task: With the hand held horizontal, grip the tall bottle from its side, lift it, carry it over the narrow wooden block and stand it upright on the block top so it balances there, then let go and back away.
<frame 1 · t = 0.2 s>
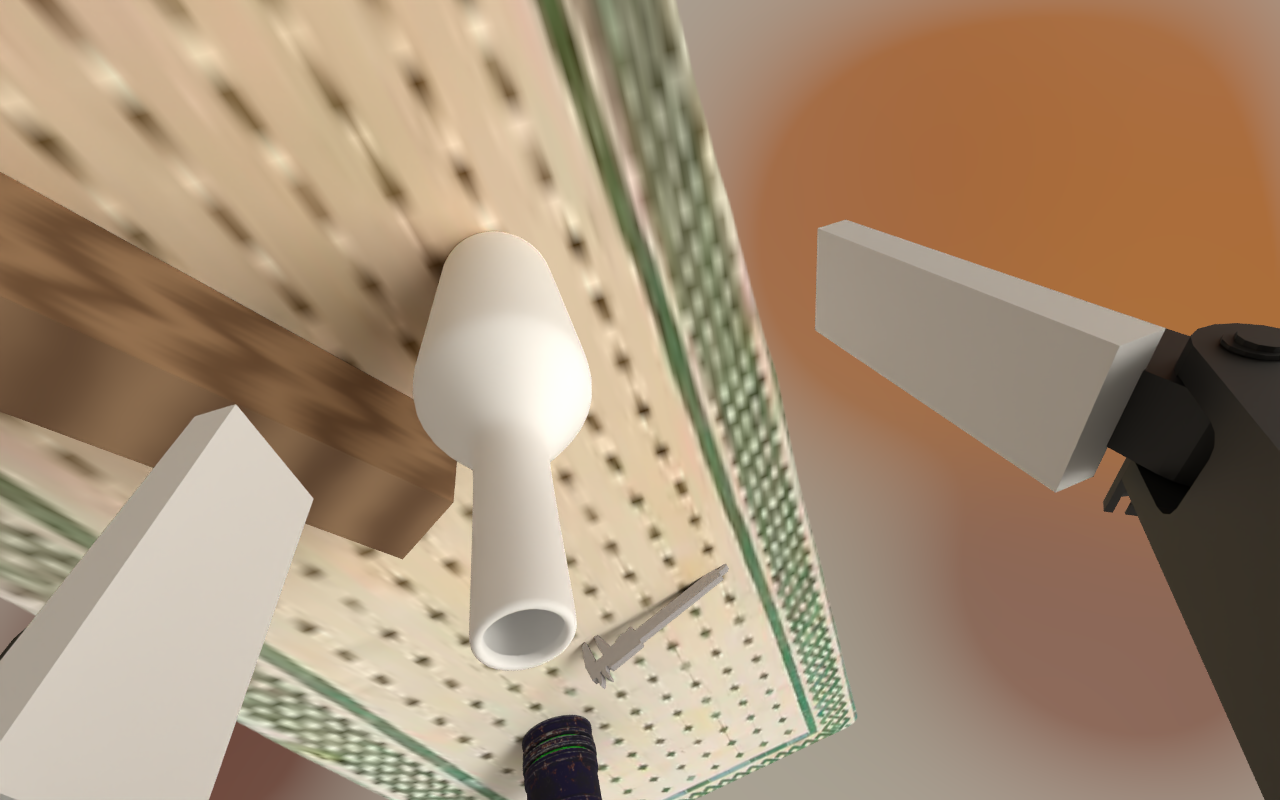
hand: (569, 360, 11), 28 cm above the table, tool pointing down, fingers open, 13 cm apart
wooden block: (248, 352, 35), on the table
bottle: (498, 284, 37), on the table
caliper: (653, 602, 61), on the table
storage jar: (557, 734, 69), on the table
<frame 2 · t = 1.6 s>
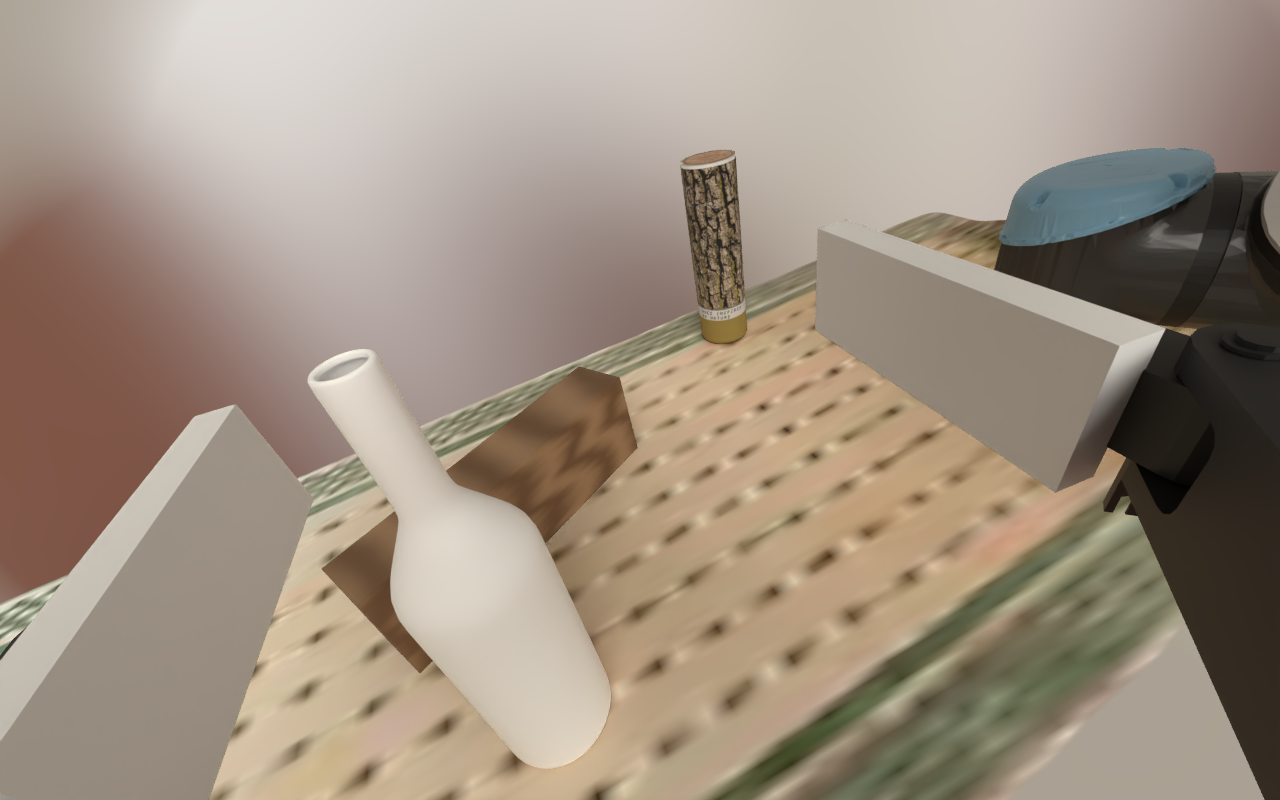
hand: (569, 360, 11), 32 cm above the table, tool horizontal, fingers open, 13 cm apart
wooden block: (528, 528, 51), on the table
bottle: (559, 706, 36), on the table
paper tube: (724, 335, 75), on the table
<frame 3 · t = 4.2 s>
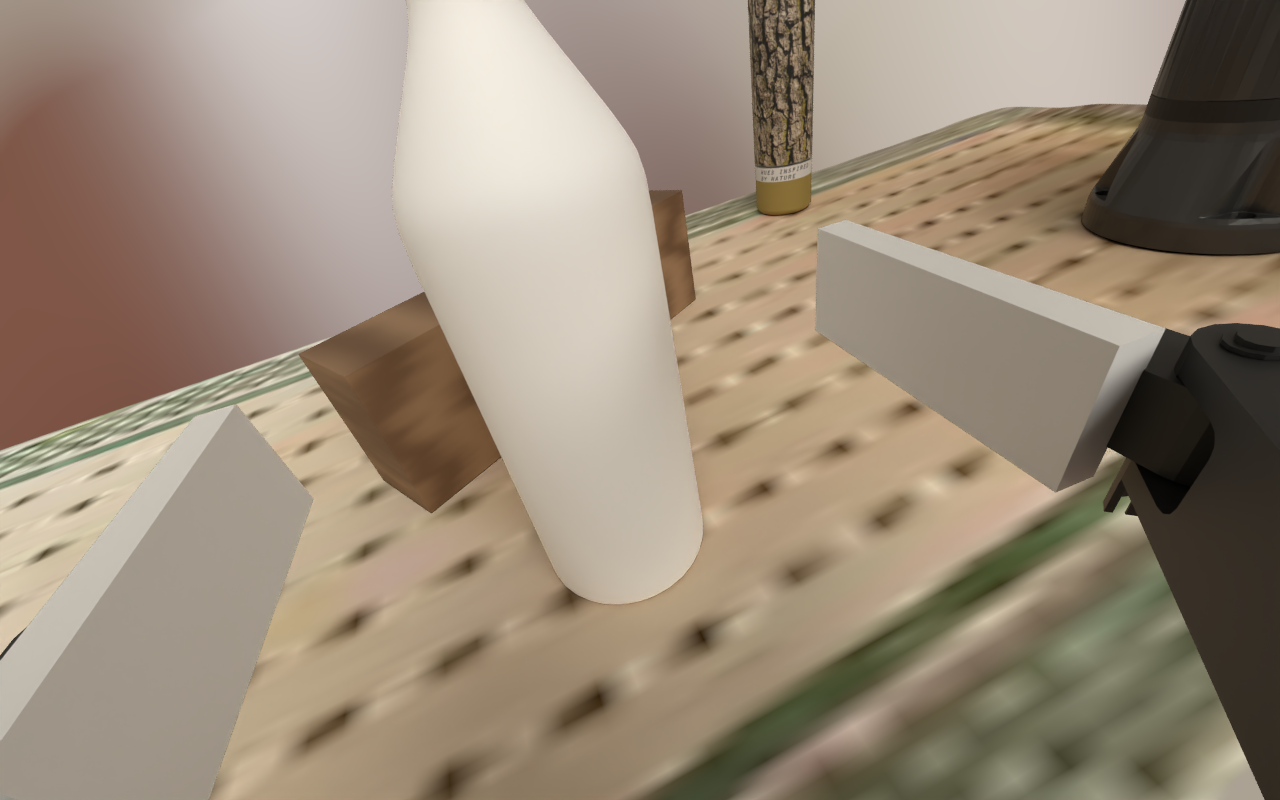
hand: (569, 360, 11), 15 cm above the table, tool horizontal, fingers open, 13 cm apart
wooden block: (566, 374, 40), on the table
bottle: (627, 538, 26), on the table
paper tube: (783, 209, 65), on the table
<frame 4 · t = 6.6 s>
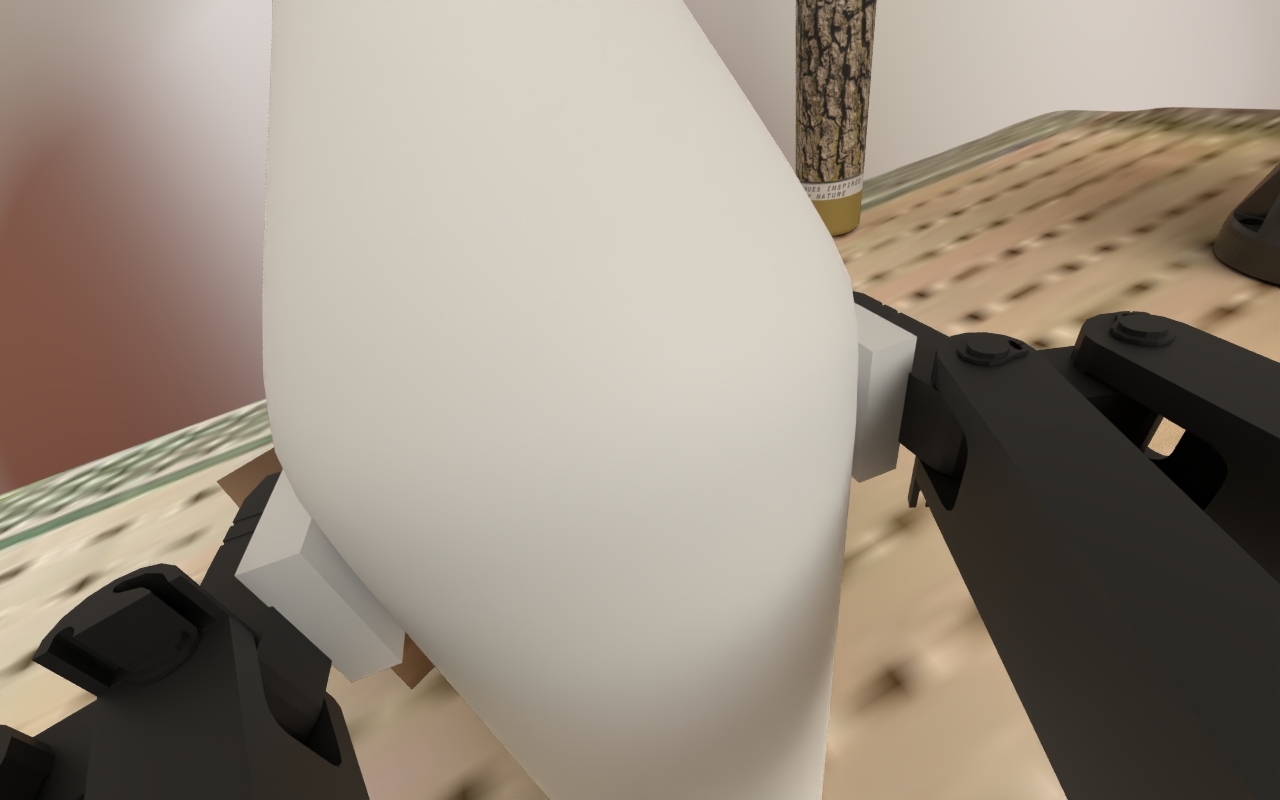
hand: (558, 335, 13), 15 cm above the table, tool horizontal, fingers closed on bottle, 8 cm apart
wooden block: (588, 454, 32), on the table
bottle: (699, 764, 17), on the table, touching gripper
paper tube: (826, 230, 56), on the table
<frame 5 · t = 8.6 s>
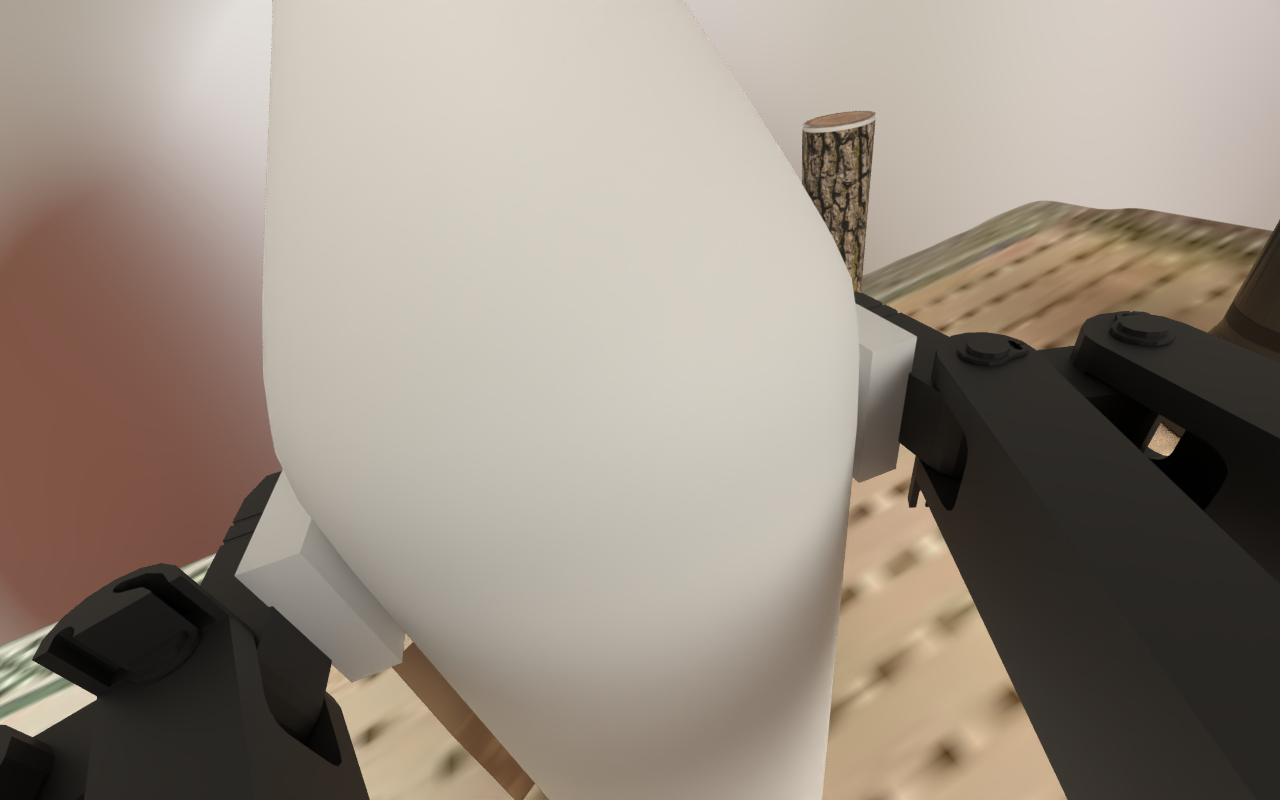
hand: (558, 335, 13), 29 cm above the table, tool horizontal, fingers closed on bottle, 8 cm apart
wooden block: (634, 584, 39), on the table
bottle: (700, 765, 17), point 14 cm above the table, touching gripper
paper tube: (828, 337, 64), on the table
when the fingers open (26 cm above the table, at t = 10.9 s): bottle drops 1 cm, resting on wooden block.
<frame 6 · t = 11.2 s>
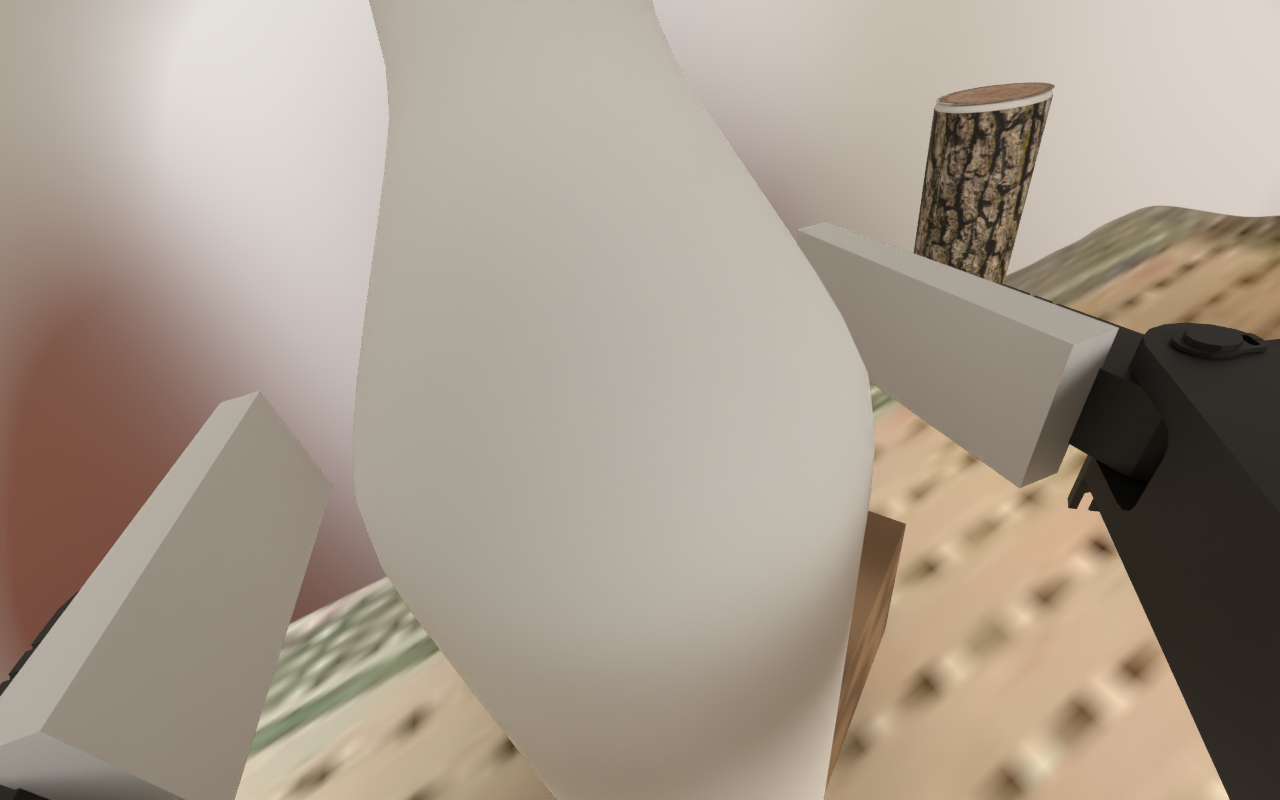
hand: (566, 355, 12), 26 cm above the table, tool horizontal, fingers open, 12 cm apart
bottle: (703, 779, 18), point 10 cm above the table, touching wooden block
paper tube: (933, 389, 48), on the table
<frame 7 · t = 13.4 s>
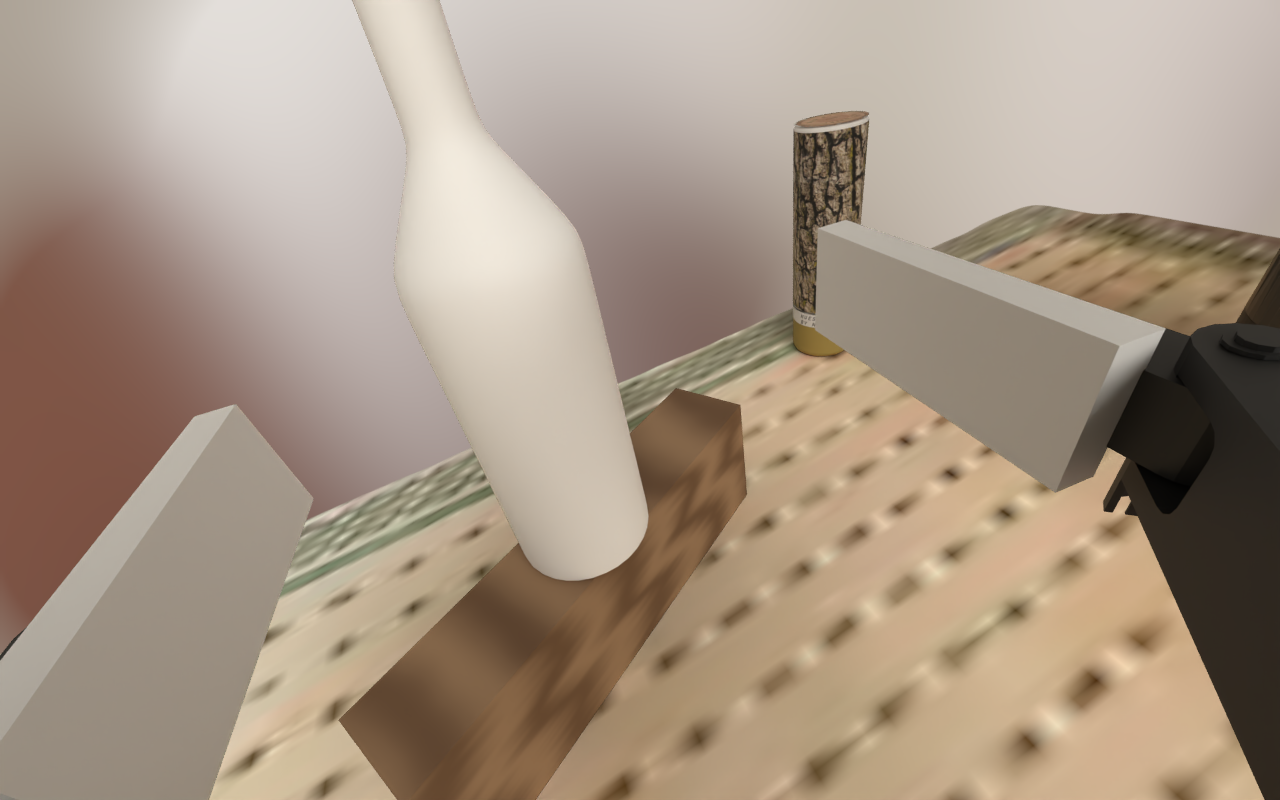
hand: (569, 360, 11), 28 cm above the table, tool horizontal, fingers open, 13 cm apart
wooden block: (617, 614, 37), on the table
bottle: (587, 528, 31), point 10 cm above the table, touching wooden block
paper tube: (821, 345, 62), on the table
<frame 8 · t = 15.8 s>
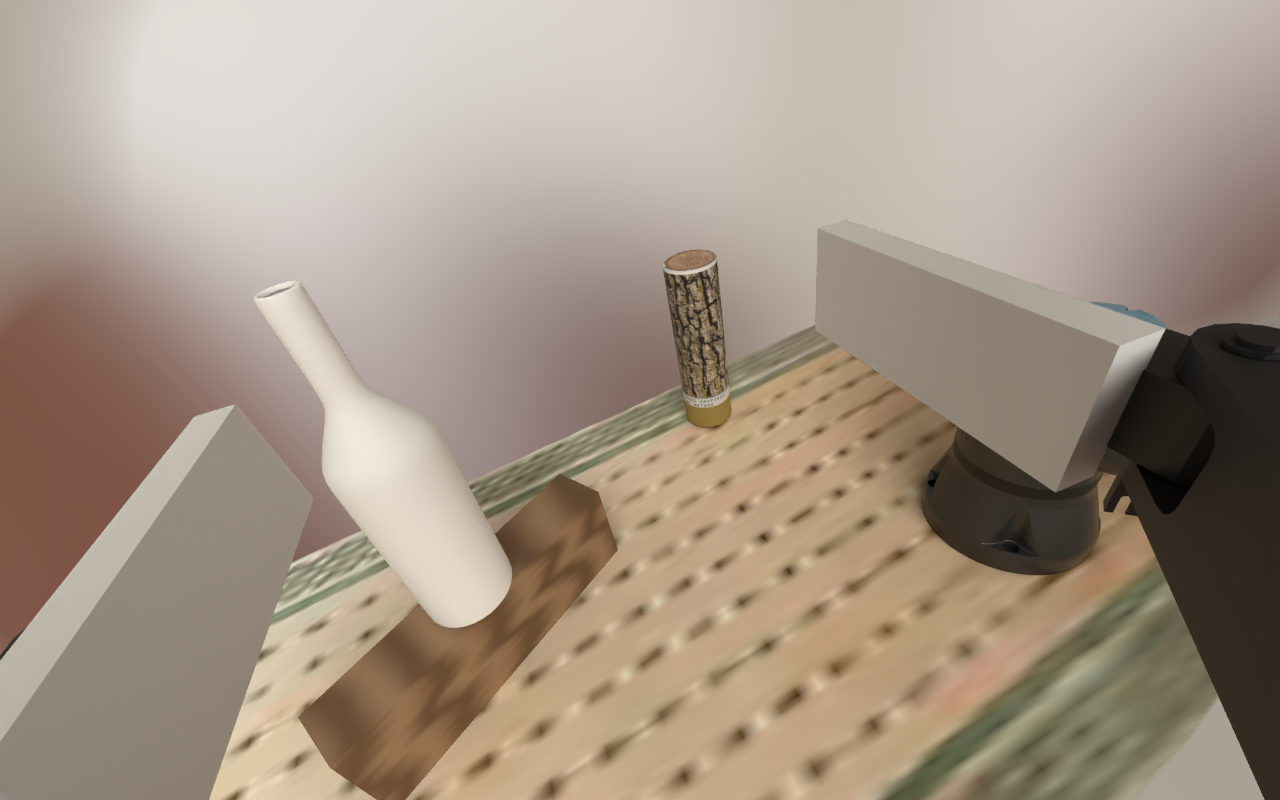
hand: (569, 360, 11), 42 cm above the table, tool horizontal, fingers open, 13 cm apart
wooden block: (507, 642, 52), on the table
bottle: (471, 588, 46), point 10 cm above the table, touching wooden block
paper tube: (709, 416, 76), on the table
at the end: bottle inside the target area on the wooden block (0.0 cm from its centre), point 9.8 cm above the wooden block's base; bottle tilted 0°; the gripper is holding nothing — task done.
